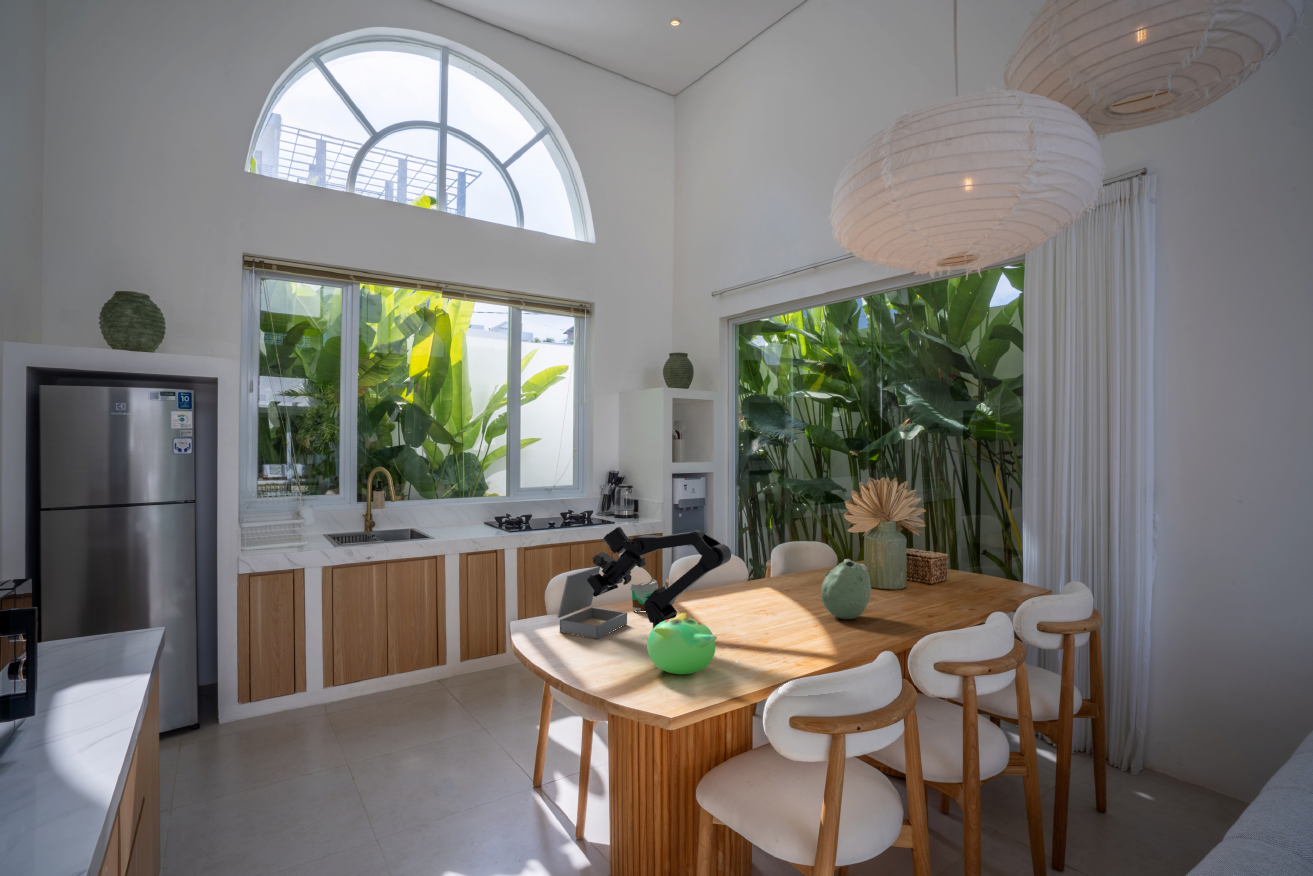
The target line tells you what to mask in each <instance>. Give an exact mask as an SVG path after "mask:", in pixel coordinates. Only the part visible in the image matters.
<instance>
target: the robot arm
mask: <svg viewBox="0 0 1313 876" xmlns="http://www.w3.org/2000/svg"><path fill="white" fill-rule="evenodd" d="M603 541H604V543H605V544H606V545H607V547H608V548H609V550H610V551H611V552H612V553H613V554H618V555H619V556H618V557H617V558H616V559H614V557H612V556H611V555H609V554H608V553H606V552H603V551H602V552H598V553H596V554H595V555H594V556H593V557H592V563H593V564H594V565H595V566H596V567H598V566H599V567H600V569H602V570H601V572H602V573H603V574H602V575H601V573H600V572H599V573H595V574H592V575H590V576H589V577H588V578H587V581H588V583H589V584H590V585H591V587H592V588H593V590H594V593H593V595H594V596H593V598H596V597H598V596H601V595H604V594H606V593H608V592H611V591H613V590H616V589H619V586H618V585H619V584H621V583H622V584H623V586H625V585H627V584H629V583H630V582H631V581H632V575H631V574H632V570H633V569H634V568H635V567H636V566H637V567H638V568H642V567H646V565H647V564H646V558H645V557H643V555H647V554H650V553H653V552H656V551H659V550H662V549H670V548H675V547H676V548H677V547H684V546H691V545H692V546H693V547H694V548H695V549H696V551H697V552H698V554H699V555H700V556H701V557H700V559H699V560H698V561H697V563H696V564H695V565H694V566H692V568H690V569H689V570H687V572H685V573H684V574H683V575H681V577H679V578H678V579H677V580H676V581H674V582H673V583H672V584H671V585H669V586H668V587H667V588H666V586H665V585H663V586H662V587H658V589H656V590H655V591H654V592H653V593H652V594H651V595H649V596H647V597H646V598H648V599H647V600H646V601H645V603H644V608H645V611H646V614H647V619H648V621H649V623H651V624H652V629H653V628H654V627H655V626H656V625H658V624H659V623H661V622H662V621H665V620H668V619H671V618H675V617H676V616H678V615H677V614H678V611H677V610H676V608H675V606H673V604H675V601H676V600H677V598H678V597H679V596H681V595H682V594H683V593H684V592H685V591H687V590H688V589H689V588H691V587H692V586H693V585H695V584H696V582H698V581H699V580H701V579H702V578H703V577H704V576H705V575H707V574H708V573H709V572H711V571H713V570H715V569H717V568H719V567H721V566H724V565H725V564H727V563H729V561H730V560H731V558H732V551H731V548H729V546H728V545H726V544H723V543H721V542H719V541H718V540H716V539H715V538H714V537H712V536H710V535H708V534H706V533H705V532H703V531H702V530H701V529H696V530H693V531H689V532H680V533H674V534H668V535H656V534H644V535H641V536H640V535H639V536H636V537H633V538H629V537H628V536H627V534H626V533H625V532H624V530H623V528H622V527H621V526H618V527H617V526H616V528H614V529H613V530H611V531H610V532H609V533H607V534H605V535H604V537H603Z"/></svg>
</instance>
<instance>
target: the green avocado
mask: <svg viewBox="0 0 1313 876" xmlns="http://www.w3.org/2000/svg"><path fill="white" fill-rule="evenodd" d="M871 593H872V586H871V577H870V572H869V571H868V566H867V565H866V564H864V563H860V562H855V561H854V560H852V559H850V558H845V559H844V560H843V561H841V562H840V563H839V564H838V565H836V566H833V568H832V569H831V570H829V569H827V571H826V572H825V574H824V579H823V581H822V583H821V591H820V599H821V603H822V604H823V606H824V607H825V609H826V610H827V611H828V612H829V614H831V615H832V616H833V617H835V618H838V619H841V620H852V619H855V618H857V617H859V616H861V615H862V614H863V613H864V611H866V609H867V607H868V605H869V602H870V597H871Z"/></svg>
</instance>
